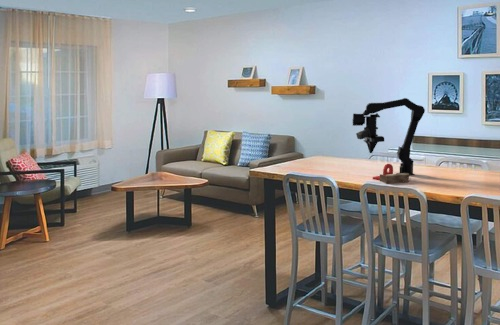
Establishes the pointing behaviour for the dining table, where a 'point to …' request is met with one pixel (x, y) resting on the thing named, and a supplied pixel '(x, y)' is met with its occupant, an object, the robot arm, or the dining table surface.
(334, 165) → the dining table surface
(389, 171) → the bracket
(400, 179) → the cradle
